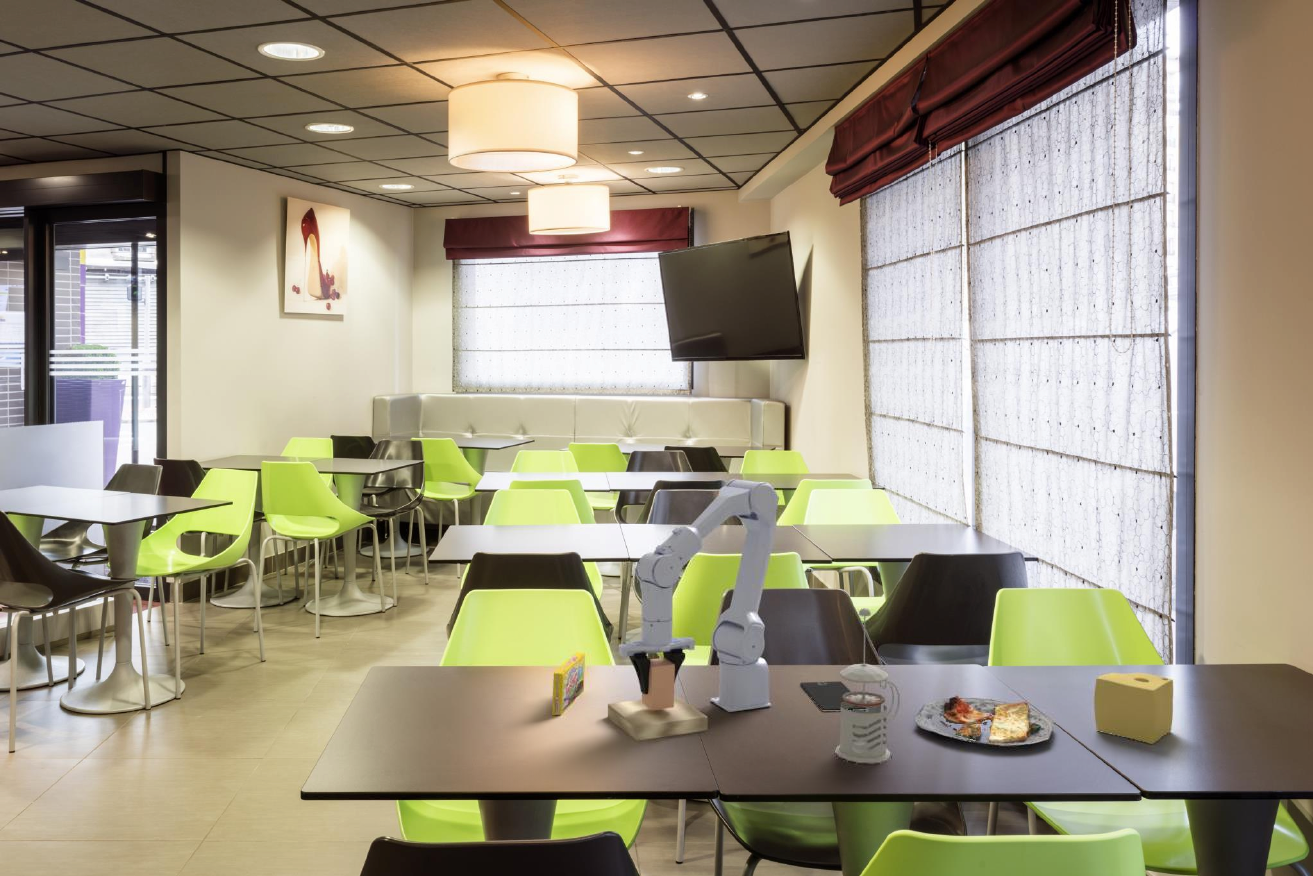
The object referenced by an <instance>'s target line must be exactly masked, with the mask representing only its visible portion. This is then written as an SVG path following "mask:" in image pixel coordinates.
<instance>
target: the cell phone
mask: <svg viewBox="0 0 1313 876" xmlns="http://www.w3.org/2000/svg"><path fill="white" fill-rule="evenodd" d="M799 685H801V686H802V687H803V688H804V689H805V690H806V692H807V693H808V694H809V695H810V696H811V697H812V699H813V700H814V701H815V702H816V703H817V704H818V706H819V707H820V708H821V709H822V710H841V703H842V702H844V700H843V698H842V696H843V695H844V694H845V693H848V692H852V691H851V690H850V689H849V688H848V687H847V686H846V684H844V683H843V682H842V681H839V680H838V681H810V682H809V681H808V682H806V681H805V682H800V683H799ZM801 686H800V687H801ZM802 687H801V688H802ZM803 688H802V689H803ZM804 689H803V690H804ZM805 690H804V691H805ZM806 692H805V693H806ZM807 693H806V694H807ZM808 694H807V695H808ZM809 695H808V696H809ZM810 696H809V697H810ZM812 699H811V700H812ZM813 700H812V701H813ZM814 701H813V702H814ZM815 702H814V703H815ZM816 703H815V704H816ZM818 706H817V707H818ZM819 707H818V708H819ZM820 708H819V709H820ZM821 709H820V710H821ZM853 709H866V708H865V707H863V706H858V705H855V706H852V707H849V708H848V710H853Z"/></svg>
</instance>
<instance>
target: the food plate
mask: <svg viewBox="0 0 1313 876" xmlns="http://www.w3.org/2000/svg"><path fill="white" fill-rule="evenodd" d="M954 695H955V694H954ZM984 713H990V714H984ZM991 714H992V715H994V716H992V715H991ZM935 715H939V716H940V717H941V716H943V717H944V718H945V719H946V722H949V723H954V724H963V725H962V726H963V727H961V728H960V729H959V730H958V731H956V732H955V736H954V735H952V734H949V733H947V732H944V730H943V731H940V730H941V729H940V728H939V729H938V728H937V727H936V726H935V725H934V724H935V722H934V721H933V724H930V723H931V722H930V721H928V720H927V719H929V718H930V719H932V717H934V716H935ZM939 716H938V717H937V719H939ZM985 720H991V722H992V725H991V726H990V727H989V728H990V737H989V739H988V740H989V742H988V741H982V740H981V741H980V740H978V739H979V738H980V737H981V735H980V733H981V727H980V725H975V724H982V722H983V721H985ZM914 722H915V723H916V725H917V726H918V727H920V728H921V729H923V730H926V731H929V732H933V733H936V734H939V735H942V736H945V737H948V738H952V737H953V738H952V739H955V740H959V741H962V740H967V741H971V742H970V743H971V744H972V743H973V742H974V743H975V744H979V745H980V743H982V744H981V745H987V744H990V745H991V746H996V745H999V746H998V747H1006V748H1009V747H1010V746H1012V747H1013V748H1016V747H1015V746H1017V747H1018V746H1021V745H1023V746H1024V745H1031V744H1035V743H1036V744H1037V743H1040V742H1044V741H1048V740H1049V739H1050V737H1051V735H1052V732H1053V728H1054V724H1055V722H1054V721H1053V720H1052V719H1051V718H1050V717H1048V716H1046V715H1045V714H1043V713H1040V712H1039V711H1036V710H1035V709H1033V708H1030V705H1029V703H1028V702H1027V701H1023V702H1022V701H1021V702H1013V703H1012V702H1006V701H1000V700H996V699H991V698H989V699H988V698H980V697H979V698H977V697H967V698H966V697H959V696H958V695H955V696H952V697H950V698H947V697H946V698H944V699H943V698H942V699H939V700H936V701H935V700H933V701H931V702H929V703H925V704H923V706H922V707H921V709H919V712H917V714H916V716H915V718H914ZM956 735H958V736H962V737H963V738H959V737H956ZM979 736H980V737H979ZM978 737H979V738H978ZM967 738H968V739H967ZM977 738H978V739H977ZM960 739H961V740H960ZM970 739H973V740H976V739H977V740H976V741H973V740H970ZM1012 747H1011V748H1012Z"/></svg>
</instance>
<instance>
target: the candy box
mask: <svg viewBox="0 0 1313 876" xmlns="http://www.w3.org/2000/svg"><path fill="white" fill-rule="evenodd" d="M585 657H586V653H584V652H578V651H577V652H576V653H574V655H572V656H571V657H570V658H569V659H568V660H567V661H565V662H564V663H563V664H562V665H561V666H560V667H558V669H556V670H555V671H554V672H553V682H552V683H553V686H552V709H551V715H552V716H555V715H560V716H561V715H562V714H564V712H565V711H566V710H567V709H568V708H569V707H570V706H571V705H572V704H573V703H574V702H575V701H576V700H577V699H578V698H579V697H580V696H581V695H582V693H584V692H585V691H584V689H585V667H586V666H585V665H586V663H585V662H586V658H585ZM578 696H579V697H578ZM577 697H578V698H577ZM576 698H577V699H576ZM575 699H576V700H575Z"/></svg>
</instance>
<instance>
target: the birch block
mask: <svg viewBox="0 0 1313 876" xmlns="http://www.w3.org/2000/svg"><path fill="white" fill-rule="evenodd" d="M607 718H608V719H610V721H612V722H613V723H614V724H616V725H617V726H618V727H619V728H621V730H622V731H624V732H625V733H626V734H628V736H630V737H631V738H632V739H633V740H635V742H637V741H644V740H645V741H646V740H649V739H650V740H651V739H657V738H663V737H671V736H677V735H684V734H691V733H692V734H693V733H697V732H698V733H699V732H705V731H708V715H706V714H704V713H703V712H701V711H700V710H698V709H696V708H695V707H694V706H692V705H691V704H689V703H687V701H685V700H683V699H682V698H680V697H678V696H677V695H676V694H674V707H673V708H666V709H658V710H650V709H649V708H648V707H647V706H645V705H644V704H643V703H642V699H636V700H629V701H628V700H627V701H620V702H612V703H607Z"/></svg>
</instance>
